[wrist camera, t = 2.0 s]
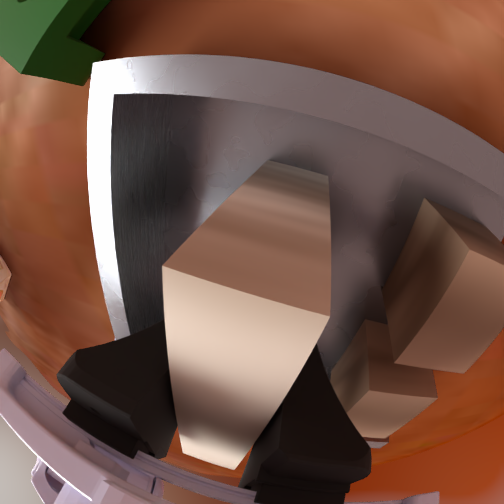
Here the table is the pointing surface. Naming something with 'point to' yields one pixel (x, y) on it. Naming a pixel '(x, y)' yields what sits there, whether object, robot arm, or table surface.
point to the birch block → (246, 308)
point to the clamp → (49, 37)
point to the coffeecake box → (3, 278)
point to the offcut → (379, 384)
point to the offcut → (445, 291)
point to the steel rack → (253, 157)
